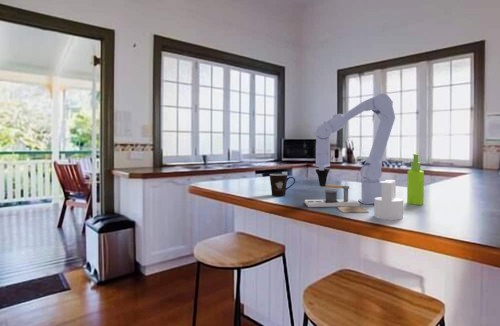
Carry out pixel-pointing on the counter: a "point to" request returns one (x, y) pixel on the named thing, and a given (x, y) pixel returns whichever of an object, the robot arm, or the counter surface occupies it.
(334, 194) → the plug
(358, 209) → the coaster
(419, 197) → the soap dispenser
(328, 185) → the clip
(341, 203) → the power strip
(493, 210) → the counter surface
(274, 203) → the counter surface
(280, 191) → the coffee mug
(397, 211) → the base with upright slab
